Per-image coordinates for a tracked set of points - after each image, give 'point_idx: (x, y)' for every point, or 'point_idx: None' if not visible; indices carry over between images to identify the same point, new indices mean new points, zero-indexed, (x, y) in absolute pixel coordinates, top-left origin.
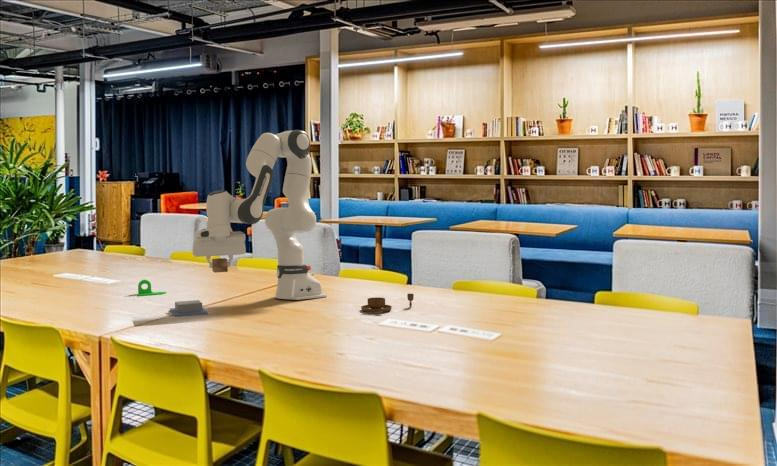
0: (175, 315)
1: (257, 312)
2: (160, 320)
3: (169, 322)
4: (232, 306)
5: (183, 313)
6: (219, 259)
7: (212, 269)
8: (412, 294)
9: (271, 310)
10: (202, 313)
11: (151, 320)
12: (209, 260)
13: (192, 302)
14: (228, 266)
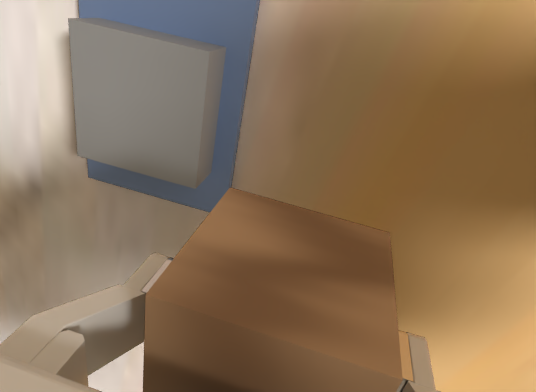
0: (93, 176)
1: (426, 317)
2: (43, 216)
3: (70, 270)
4: (458, 50)
5: (122, 180)
6: None
7: (221, 200)
8: None
9: (516, 320)
10: (202, 207)
11: (13, 194)
12: (91, 368)
13: (155, 127)
14: None
